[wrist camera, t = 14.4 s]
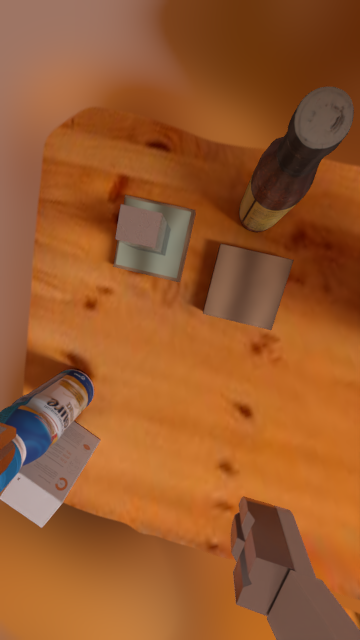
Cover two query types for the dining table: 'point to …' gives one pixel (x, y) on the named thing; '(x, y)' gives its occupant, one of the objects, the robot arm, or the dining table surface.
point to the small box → (50, 475)
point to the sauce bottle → (296, 157)
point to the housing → (143, 229)
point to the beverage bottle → (44, 417)
